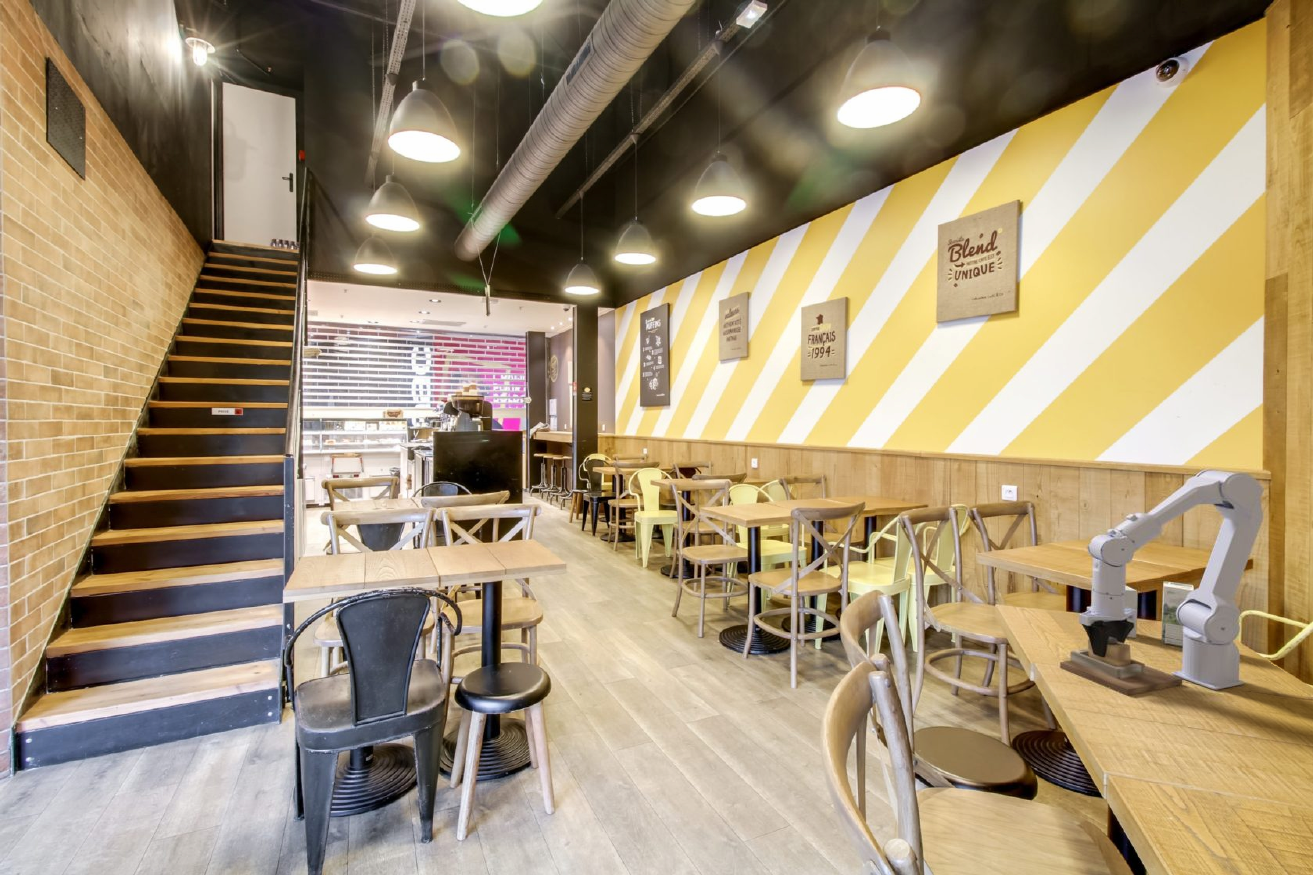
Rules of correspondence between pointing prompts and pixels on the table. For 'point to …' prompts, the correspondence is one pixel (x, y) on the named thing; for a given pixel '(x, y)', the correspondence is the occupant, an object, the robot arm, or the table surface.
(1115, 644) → the knob block
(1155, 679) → the board
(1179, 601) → the syrup box
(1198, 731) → the table surface
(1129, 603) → the skincare box
